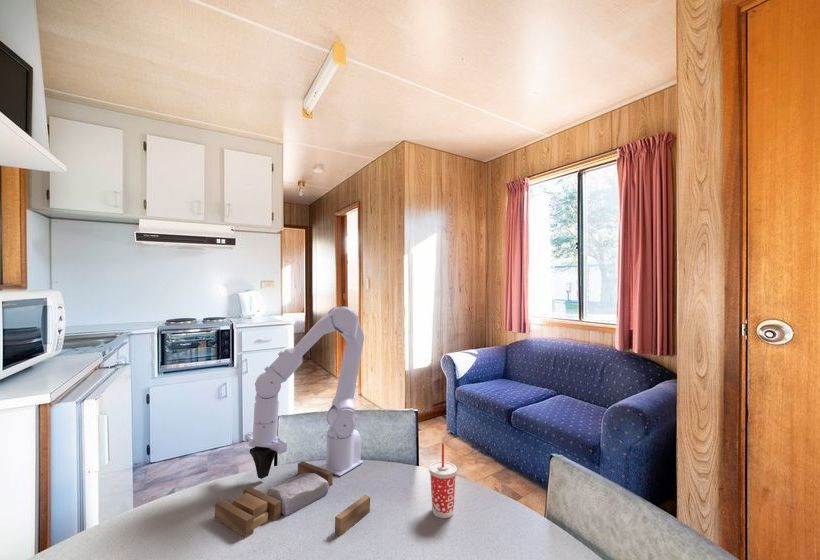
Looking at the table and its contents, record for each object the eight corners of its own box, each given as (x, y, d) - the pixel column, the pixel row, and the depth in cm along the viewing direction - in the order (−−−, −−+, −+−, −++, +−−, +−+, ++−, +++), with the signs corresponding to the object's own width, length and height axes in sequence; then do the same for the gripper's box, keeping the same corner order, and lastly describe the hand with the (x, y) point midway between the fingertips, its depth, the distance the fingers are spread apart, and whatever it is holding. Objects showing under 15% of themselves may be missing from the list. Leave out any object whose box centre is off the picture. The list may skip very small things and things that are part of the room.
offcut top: (246, 501, 71) (246, 492, 71) (267, 511, 67) (267, 502, 68) (231, 509, 68) (232, 499, 68) (252, 519, 65) (253, 510, 65)
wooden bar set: (302, 473, 87) (302, 461, 87) (380, 503, 73) (380, 489, 73) (214, 518, 67) (215, 502, 68) (298, 570, 54) (299, 550, 54)
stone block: (260, 512, 73) (286, 519, 67) (260, 488, 74) (286, 493, 68) (306, 491, 82) (332, 496, 77) (305, 470, 83) (330, 473, 78)
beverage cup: (436, 523, 66) (436, 451, 68) (424, 506, 72) (424, 440, 73) (462, 516, 69) (462, 446, 70) (448, 500, 74) (448, 436, 76)
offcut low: (244, 510, 71) (244, 501, 71) (267, 523, 67) (268, 512, 67) (227, 519, 68) (228, 509, 68) (251, 533, 64) (251, 522, 64)
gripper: (234, 419, 84) (231, 475, 83) (269, 430, 76) (266, 492, 75) (259, 412, 90) (256, 464, 89) (294, 422, 82) (292, 479, 81)
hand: (263, 476), depth 82 cm, fingers closed
